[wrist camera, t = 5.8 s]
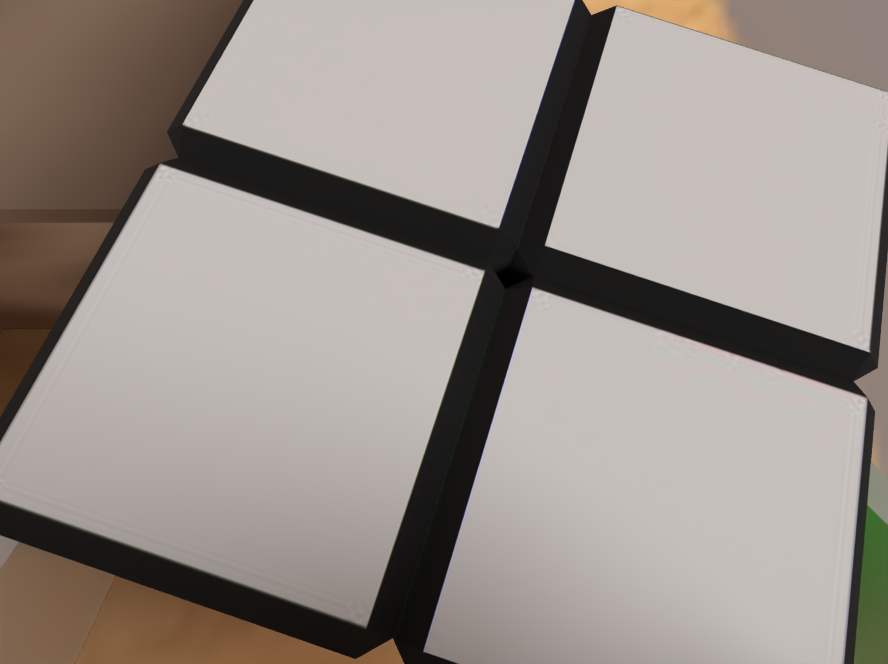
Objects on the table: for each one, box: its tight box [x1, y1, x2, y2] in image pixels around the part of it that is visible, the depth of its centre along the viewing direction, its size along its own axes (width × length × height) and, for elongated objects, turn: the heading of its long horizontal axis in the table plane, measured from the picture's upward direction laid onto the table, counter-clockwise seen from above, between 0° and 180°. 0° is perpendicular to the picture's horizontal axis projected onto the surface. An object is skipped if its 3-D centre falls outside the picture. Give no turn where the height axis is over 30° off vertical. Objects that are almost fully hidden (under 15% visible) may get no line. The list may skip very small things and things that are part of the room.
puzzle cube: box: [0, 0, 888, 664], centre depth 13 cm, size 10×10×10 cm
